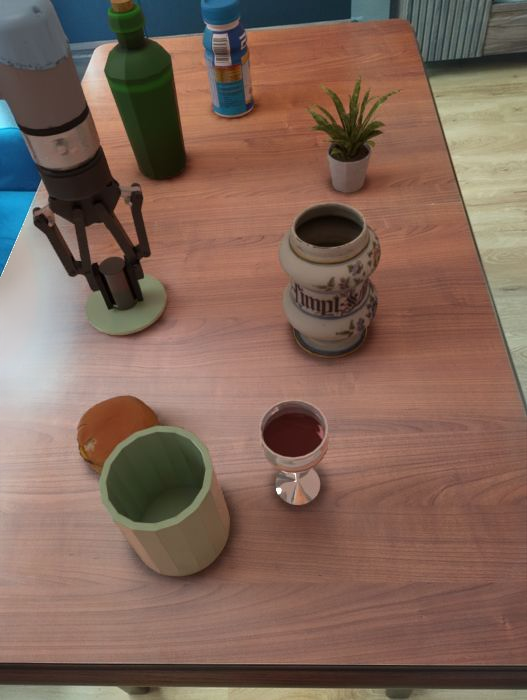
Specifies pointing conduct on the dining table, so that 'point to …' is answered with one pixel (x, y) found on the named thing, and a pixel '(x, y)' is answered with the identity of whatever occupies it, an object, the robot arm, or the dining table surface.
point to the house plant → (349, 138)
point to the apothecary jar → (330, 278)
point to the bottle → (145, 93)
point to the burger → (111, 427)
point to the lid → (124, 301)
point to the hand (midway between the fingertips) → (124, 298)
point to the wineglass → (294, 447)
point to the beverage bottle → (227, 58)
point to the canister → (166, 499)
